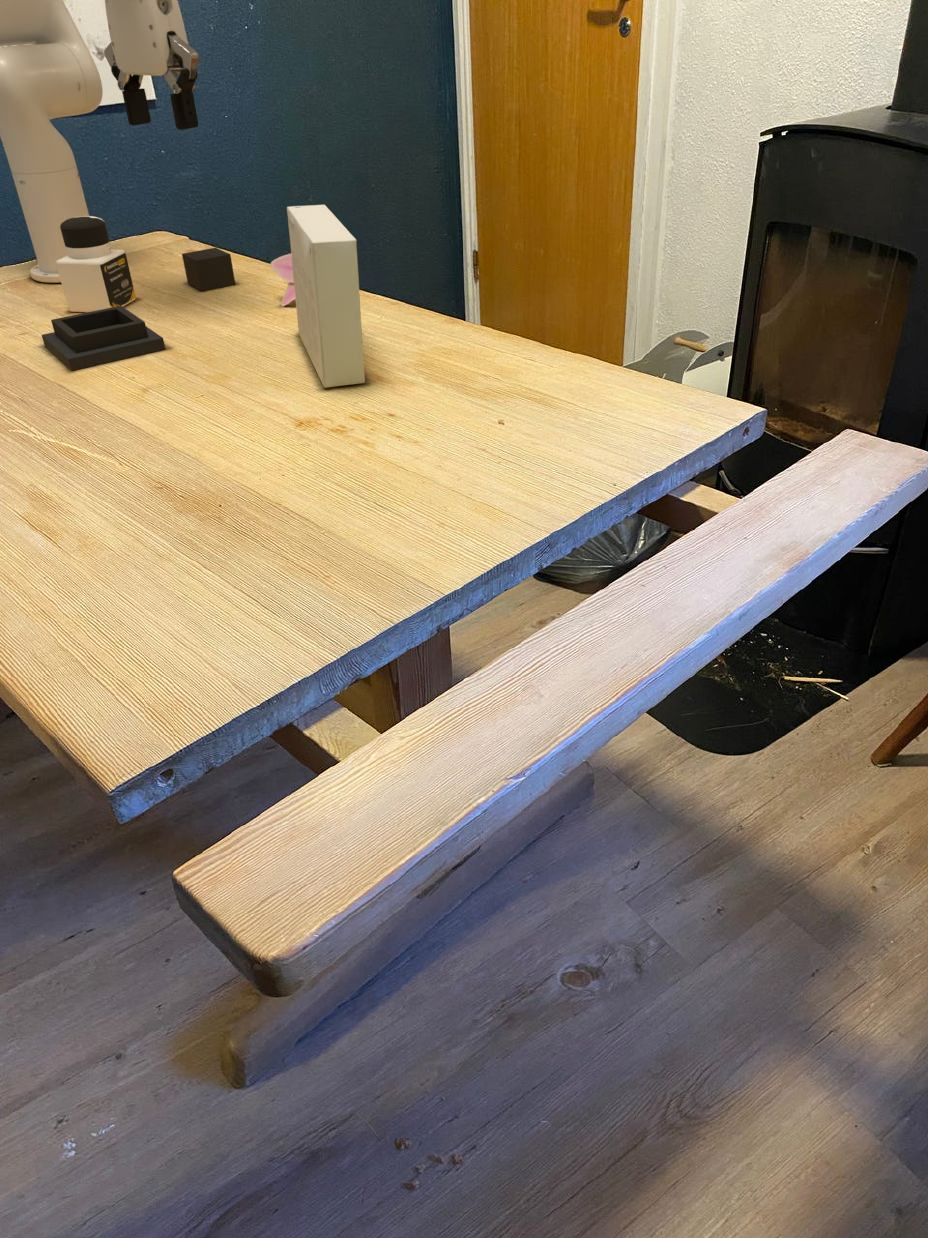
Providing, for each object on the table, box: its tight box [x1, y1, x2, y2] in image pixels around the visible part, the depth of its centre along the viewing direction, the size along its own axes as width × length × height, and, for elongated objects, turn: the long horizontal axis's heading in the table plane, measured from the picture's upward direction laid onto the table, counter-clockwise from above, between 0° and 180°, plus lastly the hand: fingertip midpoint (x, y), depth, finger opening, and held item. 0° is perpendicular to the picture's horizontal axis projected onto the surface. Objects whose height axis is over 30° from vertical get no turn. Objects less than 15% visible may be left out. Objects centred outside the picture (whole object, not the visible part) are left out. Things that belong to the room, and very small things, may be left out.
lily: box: [269, 253, 296, 307], centre depth 129 cm, size 12×12×10 cm
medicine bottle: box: [56, 215, 137, 313], centre depth 130 cm, size 7×7×12 cm
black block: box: [181, 247, 236, 292], centre depth 140 cm, size 6×6×4 cm
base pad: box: [41, 306, 166, 372], centre depth 117 cm, size 12×12×4 cm
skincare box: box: [286, 204, 366, 388], centre depth 107 cm, size 21×5×16 cm, turn 17°
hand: (163, 125), depth 119 cm, fingers open, 9 cm apart
